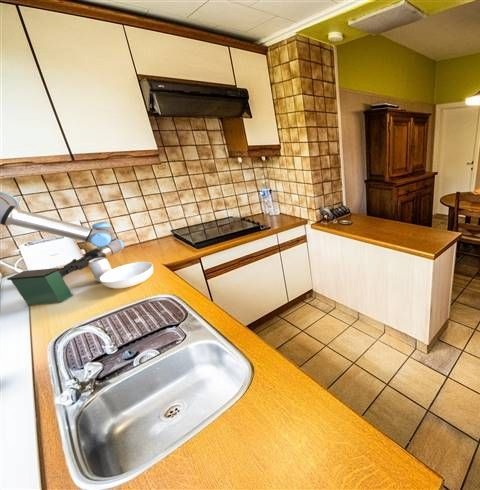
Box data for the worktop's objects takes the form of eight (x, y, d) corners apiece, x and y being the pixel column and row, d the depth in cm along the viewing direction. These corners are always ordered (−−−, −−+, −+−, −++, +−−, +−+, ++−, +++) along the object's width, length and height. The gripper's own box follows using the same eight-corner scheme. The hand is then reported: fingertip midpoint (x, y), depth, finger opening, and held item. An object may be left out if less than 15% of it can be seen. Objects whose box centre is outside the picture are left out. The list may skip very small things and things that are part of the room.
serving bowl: (104, 299, 123) (97, 286, 121) (107, 282, 138) (101, 270, 136) (158, 282, 135) (153, 271, 132) (155, 268, 150) (151, 257, 147)
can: (114, 274, 146) (104, 255, 141) (117, 278, 142) (107, 258, 137) (96, 280, 141) (85, 260, 136) (98, 284, 136) (87, 264, 132)
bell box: (25, 306, 121) (6, 278, 115) (41, 297, 128) (24, 270, 122) (60, 303, 122) (43, 275, 116) (74, 294, 129) (59, 267, 123)
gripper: (113, 259, 152) (76, 280, 131) (89, 261, 151) (47, 283, 130) (107, 247, 149) (68, 267, 128) (82, 249, 148) (39, 269, 127)
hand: (58, 275), depth 129 cm, fingers closed
